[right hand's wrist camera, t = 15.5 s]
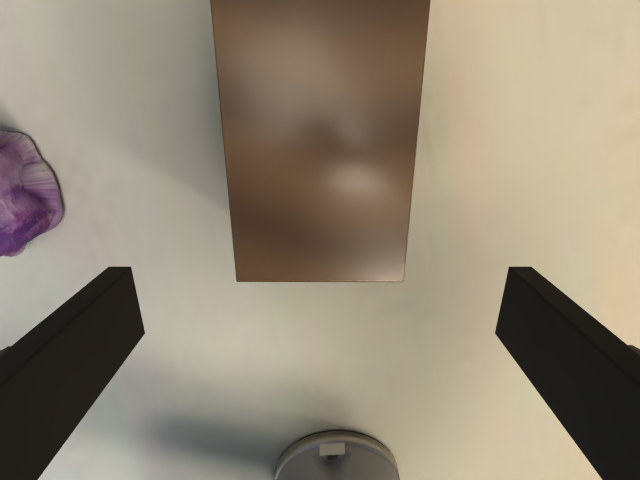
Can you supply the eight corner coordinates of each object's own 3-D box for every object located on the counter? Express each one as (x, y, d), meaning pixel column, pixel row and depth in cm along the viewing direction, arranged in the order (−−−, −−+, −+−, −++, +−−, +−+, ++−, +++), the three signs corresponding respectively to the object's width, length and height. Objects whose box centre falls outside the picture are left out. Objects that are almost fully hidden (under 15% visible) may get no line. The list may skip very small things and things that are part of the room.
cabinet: (242, -46, 26) (198, -126, 17) (397, -45, 26) (442, -126, 17) (260, 229, 34) (236, 282, 24) (379, 229, 34) (403, 282, 24)
